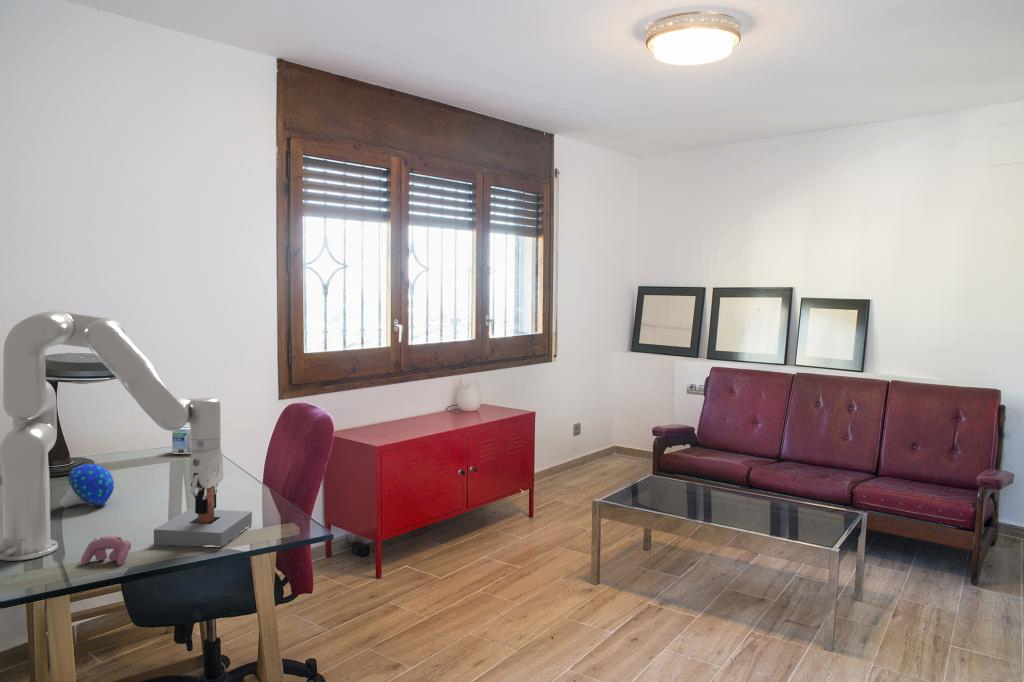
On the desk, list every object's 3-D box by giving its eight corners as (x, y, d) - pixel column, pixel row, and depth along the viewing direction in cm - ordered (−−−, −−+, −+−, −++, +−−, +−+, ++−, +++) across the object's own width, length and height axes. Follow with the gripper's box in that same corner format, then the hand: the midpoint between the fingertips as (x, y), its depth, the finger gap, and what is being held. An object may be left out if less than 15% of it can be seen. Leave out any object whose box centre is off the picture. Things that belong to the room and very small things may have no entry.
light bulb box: (171, 455, 276) (171, 428, 275) (178, 451, 283) (178, 425, 282) (199, 455, 277) (199, 428, 276) (205, 451, 284) (205, 425, 283)
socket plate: (221, 548, 178) (221, 532, 178) (153, 544, 179) (153, 529, 179) (251, 525, 196) (251, 511, 196) (190, 522, 197) (190, 508, 197)
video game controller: (129, 567, 168) (135, 537, 171) (120, 565, 164) (127, 534, 167) (87, 566, 168) (94, 536, 170) (77, 564, 163) (84, 534, 166)
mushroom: (46, 478, 209) (92, 447, 213) (80, 508, 216) (124, 477, 220) (42, 500, 197) (91, 466, 201) (79, 531, 204) (125, 498, 208)
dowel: (209, 526, 185) (209, 482, 184) (195, 525, 185) (194, 481, 185) (216, 521, 189) (216, 478, 188) (202, 521, 189) (202, 478, 189)
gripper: (203, 451, 177) (203, 521, 179) (233, 438, 194) (233, 502, 195) (175, 450, 178) (175, 520, 179) (207, 437, 194) (207, 501, 196)
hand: (205, 510), depth 187 cm, fingers closed on dowel, 4 cm apart
